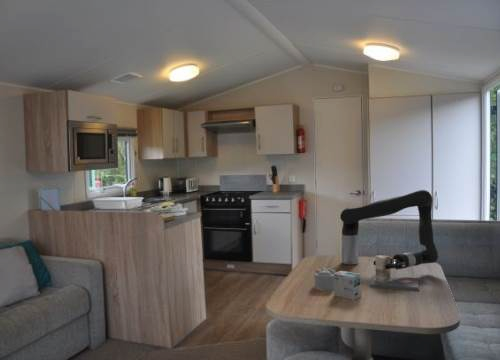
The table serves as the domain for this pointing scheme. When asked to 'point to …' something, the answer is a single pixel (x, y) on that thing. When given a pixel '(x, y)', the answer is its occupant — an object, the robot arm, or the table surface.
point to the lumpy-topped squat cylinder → (324, 279)
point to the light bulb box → (347, 285)
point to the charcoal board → (396, 283)
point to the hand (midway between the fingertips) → (379, 265)
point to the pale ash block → (382, 268)
